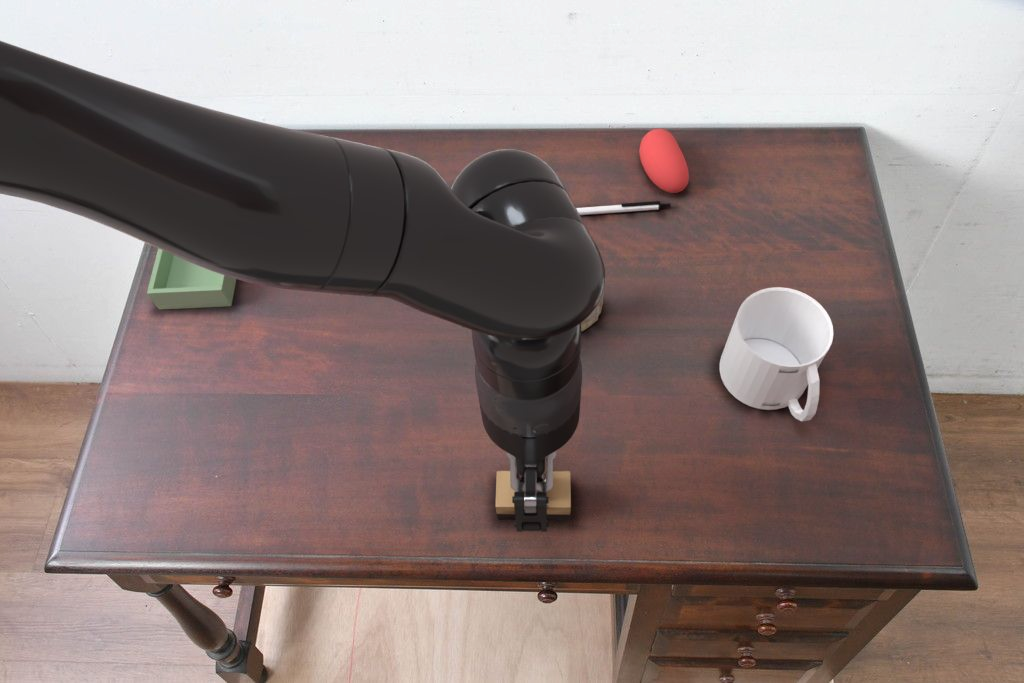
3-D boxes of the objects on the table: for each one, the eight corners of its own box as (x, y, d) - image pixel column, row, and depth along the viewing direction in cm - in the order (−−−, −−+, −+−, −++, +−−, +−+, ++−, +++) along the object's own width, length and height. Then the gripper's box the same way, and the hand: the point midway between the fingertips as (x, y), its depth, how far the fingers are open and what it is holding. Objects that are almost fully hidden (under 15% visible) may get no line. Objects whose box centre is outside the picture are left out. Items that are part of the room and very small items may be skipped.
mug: (708, 343, 86) (724, 294, 78) (789, 331, 87) (813, 281, 79) (741, 444, 80) (763, 401, 72) (828, 430, 80) (860, 386, 72)
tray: (231, 306, 91) (221, 289, 88) (158, 309, 91) (146, 293, 88) (250, 205, 99) (241, 187, 96) (183, 208, 99) (172, 190, 96)
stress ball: (633, 202, 99) (659, 183, 93) (628, 133, 100) (653, 111, 94) (669, 205, 101) (697, 187, 95) (664, 138, 102) (690, 116, 96)
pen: (670, 210, 96) (671, 203, 95) (512, 221, 96) (512, 215, 95) (669, 204, 96) (670, 198, 96) (512, 215, 96) (512, 209, 96)
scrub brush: (497, 519, 77) (491, 483, 69) (498, 484, 79) (493, 444, 71) (569, 519, 77) (572, 483, 68) (569, 484, 78) (572, 445, 70)
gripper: (481, 304, 61) (494, 400, 75) (472, 479, 54) (488, 549, 68) (579, 303, 61) (574, 400, 75) (583, 479, 54) (577, 550, 67)
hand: (533, 471), depth 71 cm, fingers open, 8 cm apart
